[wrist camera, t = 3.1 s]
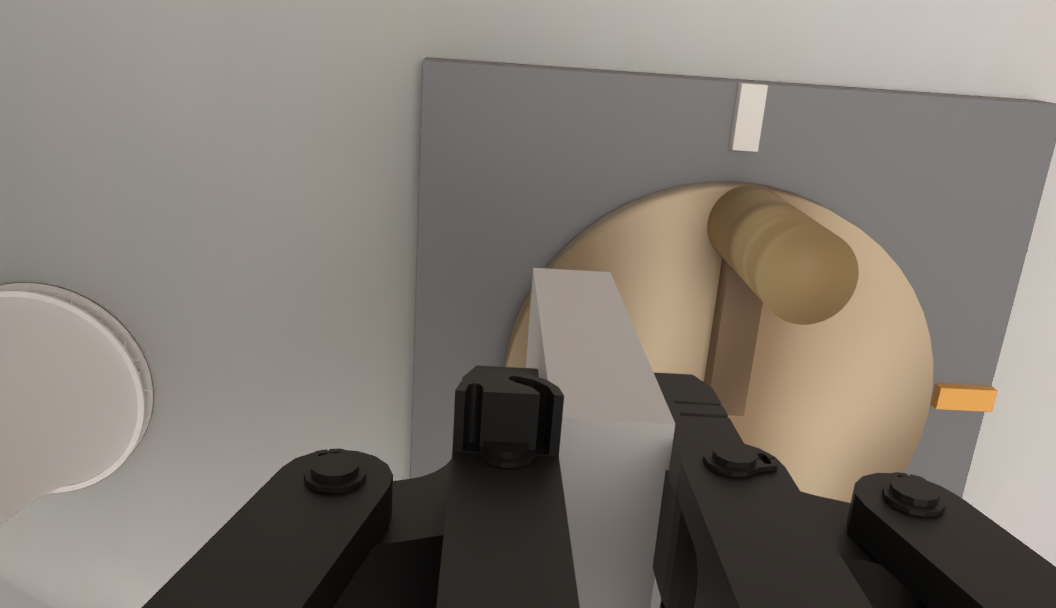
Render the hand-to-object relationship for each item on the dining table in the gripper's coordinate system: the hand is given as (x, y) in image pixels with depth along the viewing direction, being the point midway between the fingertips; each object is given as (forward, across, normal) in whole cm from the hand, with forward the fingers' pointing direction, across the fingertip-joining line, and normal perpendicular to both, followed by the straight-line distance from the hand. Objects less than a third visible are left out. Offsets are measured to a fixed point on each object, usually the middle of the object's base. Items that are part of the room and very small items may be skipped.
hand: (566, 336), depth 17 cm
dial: (+11, +6, -6) cm, 14 cm away
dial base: (+13, +6, -6) cm, 15 cm away
